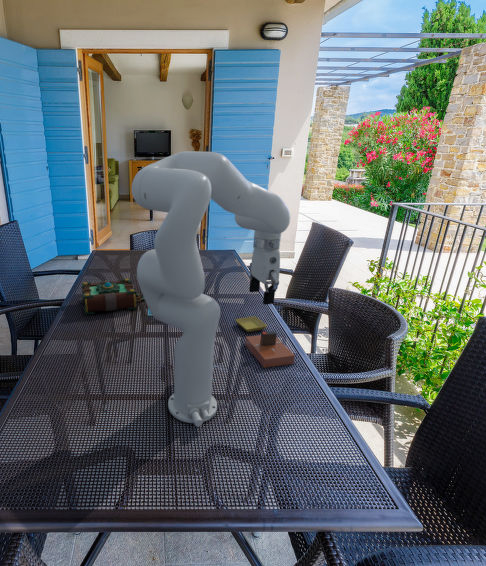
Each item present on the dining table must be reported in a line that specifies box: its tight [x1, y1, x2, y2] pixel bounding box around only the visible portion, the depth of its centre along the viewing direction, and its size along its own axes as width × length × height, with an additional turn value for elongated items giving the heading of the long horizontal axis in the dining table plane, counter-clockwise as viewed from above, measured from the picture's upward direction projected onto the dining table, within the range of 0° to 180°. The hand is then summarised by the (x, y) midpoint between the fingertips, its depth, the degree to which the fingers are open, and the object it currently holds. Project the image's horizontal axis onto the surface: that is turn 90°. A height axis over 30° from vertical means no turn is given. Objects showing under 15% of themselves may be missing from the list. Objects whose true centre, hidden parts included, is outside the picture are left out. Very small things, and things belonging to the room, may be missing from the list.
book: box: [81, 277, 145, 315], centre depth 156 cm, size 27×21×10 cm
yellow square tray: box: [235, 315, 268, 333], centre depth 137 cm, size 9×9×2 cm
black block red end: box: [260, 330, 278, 346], centre depth 120 cm, size 5×2×4 cm, turn 103°
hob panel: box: [244, 334, 296, 369], centre depth 121 cm, size 14×10×3 cm
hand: (260, 297), depth 115 cm, fingers open, 9 cm apart
